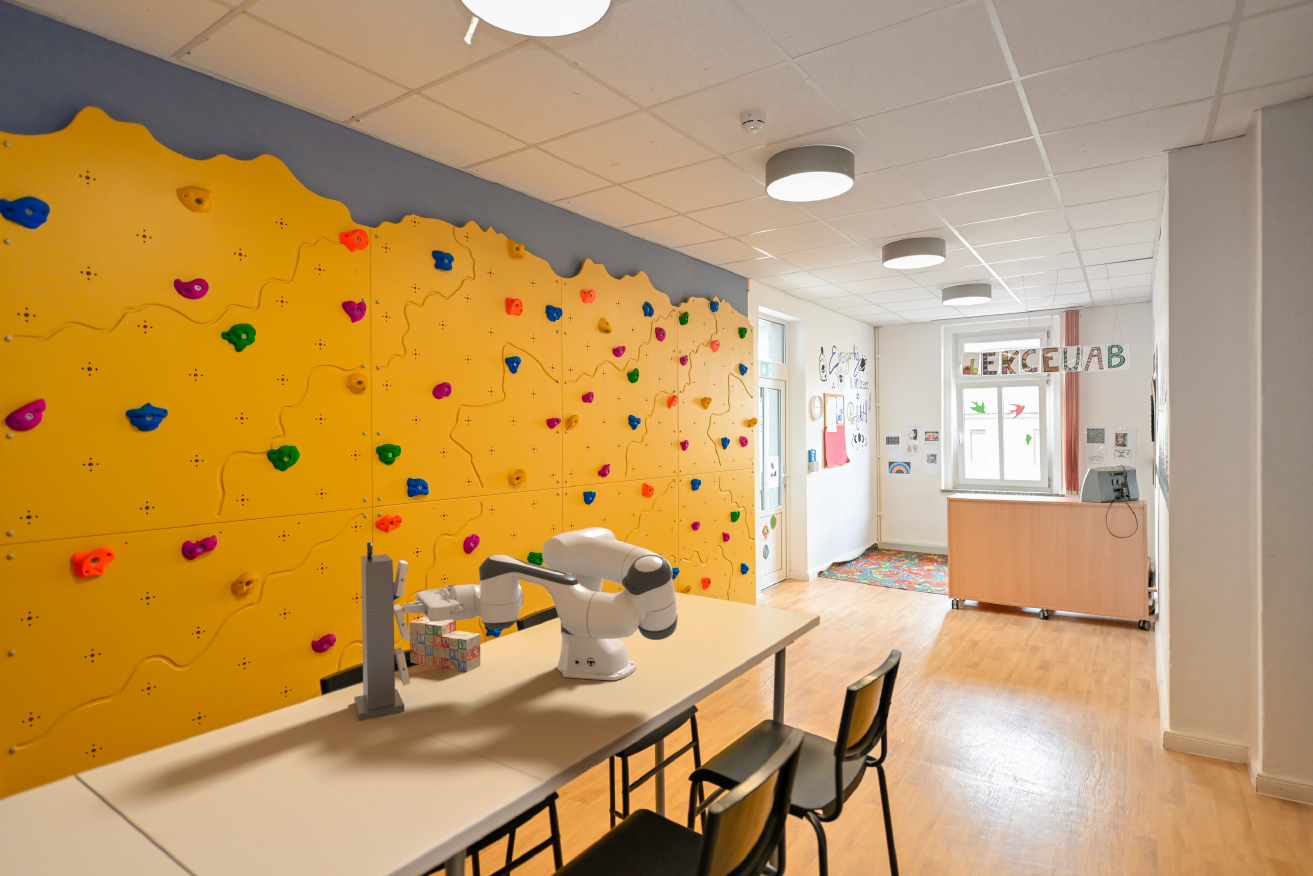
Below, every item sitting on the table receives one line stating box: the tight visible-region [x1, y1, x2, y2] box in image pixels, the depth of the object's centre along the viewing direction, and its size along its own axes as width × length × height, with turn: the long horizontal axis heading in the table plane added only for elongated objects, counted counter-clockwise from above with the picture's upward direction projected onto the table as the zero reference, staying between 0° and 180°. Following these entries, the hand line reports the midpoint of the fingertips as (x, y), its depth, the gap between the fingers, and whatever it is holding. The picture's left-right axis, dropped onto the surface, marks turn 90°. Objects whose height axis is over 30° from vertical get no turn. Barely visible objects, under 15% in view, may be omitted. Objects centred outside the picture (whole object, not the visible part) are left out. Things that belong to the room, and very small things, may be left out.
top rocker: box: [393, 559, 409, 597], centre depth 166 cm, size 2×5×8 cm, turn 30°
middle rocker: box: [394, 603, 411, 642], centre depth 166 cm, size 2×5×8 cm, turn 29°
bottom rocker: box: [394, 646, 411, 687], centre depth 166 cm, size 2×5×8 cm, turn 29°
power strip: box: [353, 541, 406, 721], centre depth 164 cm, size 10×12×40 cm
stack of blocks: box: [408, 616, 481, 673], centre depth 194 cm, size 21×6×12 cm, turn 65°
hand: (403, 608), depth 166 cm, fingers closed, pressing on middle rocker
